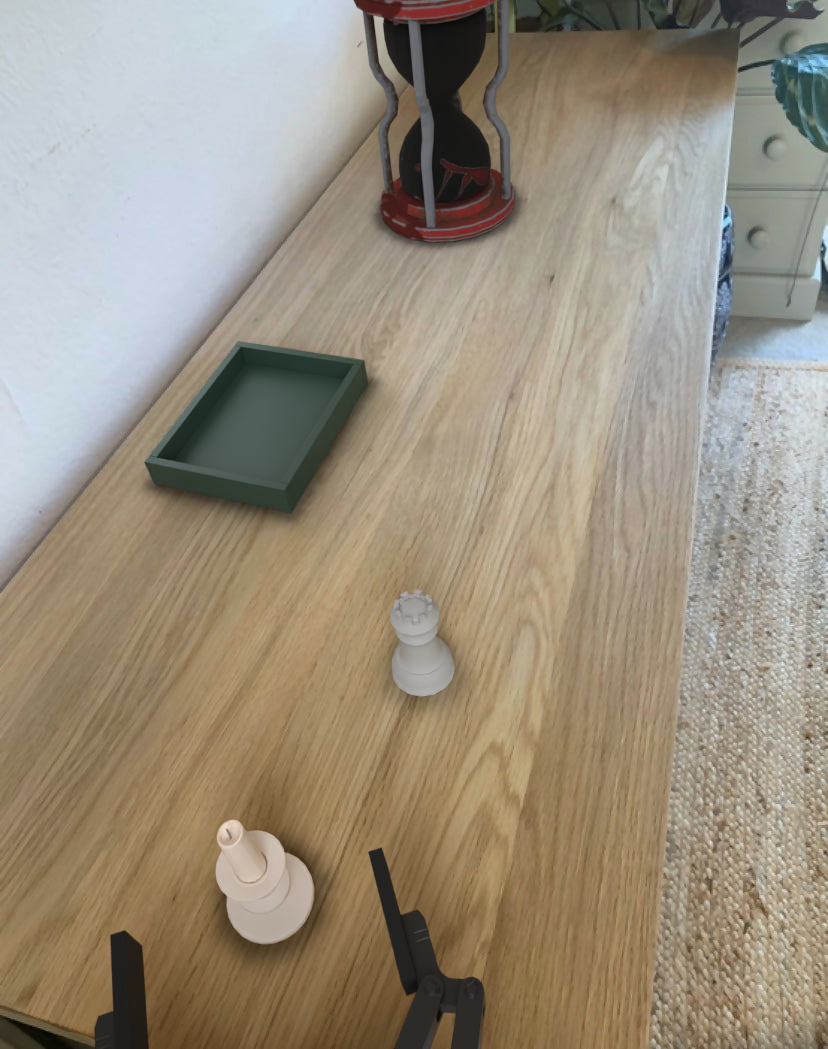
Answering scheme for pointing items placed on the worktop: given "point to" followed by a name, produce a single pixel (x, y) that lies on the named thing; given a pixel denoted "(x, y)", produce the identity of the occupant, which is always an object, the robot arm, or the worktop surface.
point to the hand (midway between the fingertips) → (254, 897)
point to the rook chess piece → (419, 646)
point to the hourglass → (441, 118)
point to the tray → (259, 425)
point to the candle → (262, 884)
